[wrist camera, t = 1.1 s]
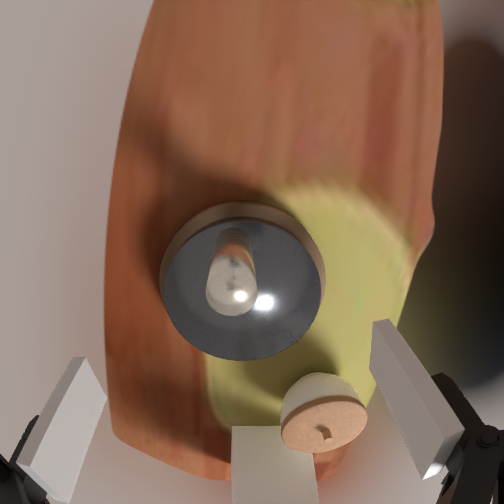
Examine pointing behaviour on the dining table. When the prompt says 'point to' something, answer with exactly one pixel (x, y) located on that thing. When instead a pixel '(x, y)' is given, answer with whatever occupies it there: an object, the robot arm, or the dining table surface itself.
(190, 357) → the dining table surface
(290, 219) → the wheel base
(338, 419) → the lidded jar
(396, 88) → the dining table surface
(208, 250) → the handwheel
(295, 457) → the milk
